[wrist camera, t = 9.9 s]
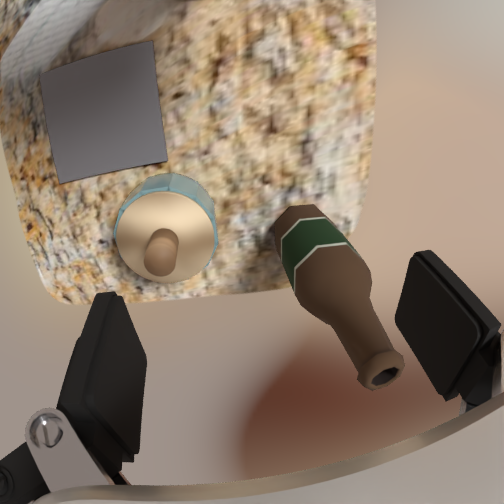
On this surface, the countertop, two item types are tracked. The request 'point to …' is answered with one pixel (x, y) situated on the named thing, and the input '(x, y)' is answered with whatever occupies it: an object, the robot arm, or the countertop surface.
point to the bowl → (175, 185)
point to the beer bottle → (336, 290)
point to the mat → (104, 113)
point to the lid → (165, 237)
